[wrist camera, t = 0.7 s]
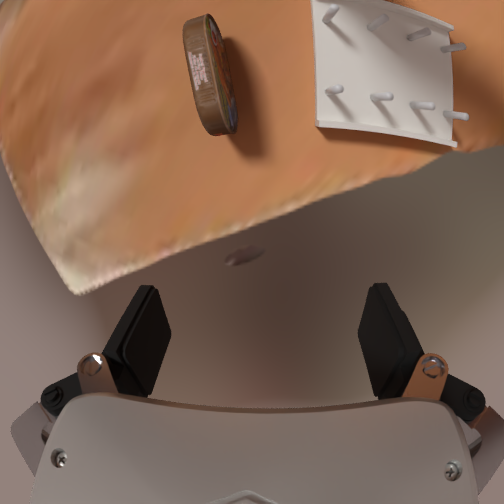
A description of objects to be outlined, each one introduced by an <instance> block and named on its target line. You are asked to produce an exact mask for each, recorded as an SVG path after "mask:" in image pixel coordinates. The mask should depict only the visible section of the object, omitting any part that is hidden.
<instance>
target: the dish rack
mask: <svg viewBox="0 0 504 504" xmlns="http://www.w3.org/2000/svg"><path fill="white" fill-rule="evenodd" d="M310 2H311V14H312V28H313V45H314V70H315V126H318V127H329V128H342V129H353V130H362V131H371V132H378V133H385V134H392V135H398V136H404V137H410V138H415V139H421V140H426V141H430V142H435V143H440V144H444V145H448V146H452V147H456V148H457V142H455V141H452V125H453V118H454V119H460V120H465V121H468V120H469V115H468V114H467V113H462V112H455V111H453V73H452V58H451V52H453V51H459V50H465V49H466V45H465V44H464V43H457V44H452V45H450V40H449V32H450V31H453V30H454V27H453V25H450V24H448V23H446V22H444V21H441V20H439V19H437V18H434V17H432V16H429V15H427V14H424V13H421V12H419V11H416V10H413V9H410V8H407V7H404V6H401V5H398V4H395V3H391V2H388V1H384V0H310Z"/></svg>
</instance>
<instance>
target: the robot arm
mask: <svg viewBox="0 0 504 504" xmlns="http://www.w3.org/2000/svg"><path fill="white" fill-rule="evenodd" d="M358 338H359V342H360V345H361V348H362V352H363V355H364V359H365V363H366V366H367V369H368V373H369V377H370V381H371V385H372V389H373V393H374V396H375V397H377V396H378V400H375V401H368V402H360V403H352V404H343V405H332V406H321V407H303V408H235V407H218V406H206V405H195V404H186V403H177V402H171V401H164V400H157V399H151V398H147V397H148V395H151V393H152V391H153V388H154V385H155V382H156V379H157V376H158V373H159V370H160V367H161V364H162V361H163V358H164V356H165V353H166V350H167V347H168V344H169V341H170V339H171V329H170V326H169V323H168V320H167V317H166V314H165V311H164V308H163V305H162V301H161V298H160V295H159V292H158V289H155V287H154V286H152V285H141V286H140V287H139V289H138V290H137V292H136V294H135V295H134V297H133V299H132V300H131V302H130V304H129V306H128V307H127V309H126V311H125V313H124V314H123V316H122V317H121V319H120V321H119V323H118V324H117V326H116V328H115V330H114V332H113V333H112V335H111V337H110V339H109V341H108V343H107V345H106V346H105V348H104V350H103V352H102V354H100V353H90V354H87V355H85V356H84V357H83V358H82V359H81V360H80V361H79V363H78V365H77V373H74V374H72V375H70V376H68V377H66V378H64V379H62V380H60V381H58V382H56V383H54V384H51V385H50V386H48V387H47V388H45V390H44V391H43V393H42V395H41V402H40V403H38V402H36V403H34V404H33V405H32V406H31V407H30V408H29V409H27V410H26V411H25V412H24V413H23V414H22V415H21V416H19V417H18V418H17V419H16V420H15V421H14V422H13V424H12V426H11V434H12V437H13V439H14V441H15V443H16V445H17V447H18V449H19V451H20V452H21V454H22V456H23V458H24V459H25V461H26V463H27V465H28V467H29V468H30V470H31V471H32V473H33V475H34V476H35V481H34V484H33V488H32V493H31V498H30V503H29V504H479V501H478V495H479V494H480V492H481V491H482V490H483V488H484V487H485V486H486V484H487V483H488V481H489V480H490V479H491V477H492V476H493V474H494V473H495V471H496V470H497V468H498V467H499V466H500V464H501V462H502V461H503V459H504V419H503V418H502V417H501V416H500V415H499V414H498V413H497V412H496V411H495V410H494V409H492V408H491V407H490V406H489V407H488V408H487V407H486V406H485V397H484V395H483V393H482V392H481V391H480V390H478V389H477V388H475V387H473V386H471V385H469V384H468V383H466V382H463V381H462V380H460V379H458V378H456V377H454V376H452V375H450V374H448V365H447V363H446V361H445V360H444V359H443V358H442V357H441V356H439V355H437V354H432V353H430V354H429V353H428V354H424V352H423V349H422V347H421V345H420V343H419V341H418V339H417V337H416V334H415V332H414V330H413V328H412V326H411V324H410V322H409V320H408V318H407V316H406V314H405V313H404V312H403V311H402V310H401V308H400V307H399V305H398V303H397V301H396V299H395V297H394V295H393V293H392V291H391V290H390V288H389V286H388V284H387V283H374V284H373V287H370V288H369V291H368V295H367V299H366V303H365V307H364V311H363V314H362V318H361V322H360V325H359V329H358Z"/></svg>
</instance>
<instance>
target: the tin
mask: <svg viewBox="0 0 504 504" xmlns="http://www.w3.org/2000/svg"><path fill="white" fill-rule="evenodd" d="M183 43H184V49H185V55H186V60H187V65H188V71H189V75H190V80H191V85H192V90H193V95H194V99H195V104H196V108H197V111H198V114H199V117H200V120H201V122H202V124H203V126H204V128H205V129H206V131H207V132H208V133H209V134H210V135H213V136H220V135H225V134H230V133H231V134H235V133H236V131H237V123H238V117H237V107H236V101H235V96H234V91H233V86H232V81H231V76H230V71H229V66H228V61H227V56H226V51H225V46H224V43H223V39H222V36H221V33H220V30H219V28H218V26H217V24H216V22H215V20H214V18H213V17H212V16H211V15H210V14H206V15H203V16H200V17H196V18H193V19H190V20H188V21H186V22H185V24H184V26H183Z"/></svg>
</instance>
